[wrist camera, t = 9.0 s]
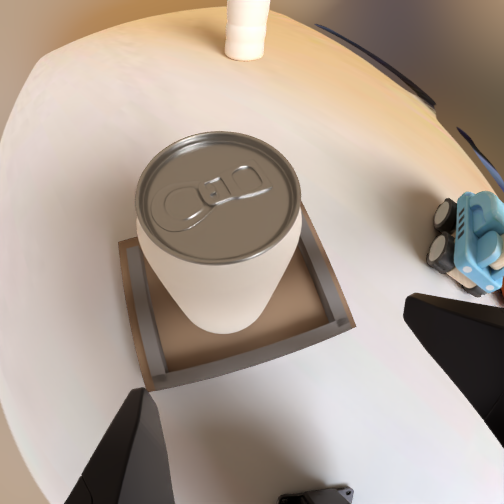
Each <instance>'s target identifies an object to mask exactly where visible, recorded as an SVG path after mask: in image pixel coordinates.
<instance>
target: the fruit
mask: <svg viewBox="0 0 504 504" xmlns="http://www.w3.org/2000/svg"><path fill="white" fill-rule="evenodd" d="M501 290H502V293H503V297H504V276H503V281H502V287H501Z"/></svg>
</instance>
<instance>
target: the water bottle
mask: <svg viewBox="0 0 504 504" xmlns="http://www.w3.org/2000/svg"><path fill="white" fill-rule="evenodd" d="M269 6H270V0H227V21H228V22H227V25H226V42H225V54H226V55H227V56H228V57H229V58H231V59H234V60H238V61H253V60H257V59H259V58H261V57H262V56H263V52H264V38H265V35H266V21H267V17H268V12H269Z"/></svg>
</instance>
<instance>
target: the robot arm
mask: <svg viewBox="0 0 504 504" xmlns="http://www.w3.org/2000/svg"><path fill="white" fill-rule="evenodd" d="M403 318H404V321H405V322H406V324H407V325H408V326H409V328H410V329H411V330H412V332H413V333H414V334H415V336H416V337H417V338H418V340H419V341H420V343H421V344H422V345H423V347H424V348H425V349H426V351H427V352H428V353H429V354H430V355H431V356H432V358H433V359H434V360H435V361H436V362H437V363H438V365H439V366H440V367H441V368H442V369H443V370H444V372H445V373H446V374H447V375H448V376H449V378H450V379H451V380H452V381H453V382H454V384H455V385H456V386H457V387H458V388H459V390H460V391H461V392H462V393H463V395H464V396H465V397H466V398H467V400H468V401H469V402H470V403H471V405H472V406H473V407H474V408H475V410H476V411H477V412H478V414H479V415H480V416H481V418H482V419H483V420H484V422H485V423H486V425H487V426H488V427H489V429H490V430H491V431H492V433H493V434H494V435H495V437H496V438H497V440H498V441H499V442H500V444H501V445H502V447H503V448H504V308H500V307H499V308H498V307H494V306H488V305H482V304H477V303H471V302H465V301H459V300H454V299H448V298H443V297H437V296H432V295H426V294H420V293H413V294H411V295H409V296H408V297H407V298H406V300H405V307H404V313H403ZM347 491H349V492H348V493H347V494H346V492H347ZM353 493H354V490H353V489H352V488H350V487H346V488H340V489H334V488H331V489H324V490H316V491H307V492H305V493H301V494H286V495H281V496H280V497H279V498H278V503H277V504H351V503H352V498H353ZM283 499H287V500H286V501H282V500H283ZM64 504H175V502H174V496H173V490H172V484H171V477H170V470H169V462H168V455H167V449H166V445H165V440H164V436H163V432H162V427H161V422H160V417H159V412H158V408H157V405H156V403H155V402H154V400H153V399H152V397H151V396H150V394H149V393H148V391H147V390H146V389H145V388H143V387H142V388H136V389H132V390H131V391H130V393H129V394H128V396H127V398H126V399H125V401H124V403H123V404H122V406H121V407H120V409H119V411H118V412H117V414H116V416H115V417H114V419H113V421H112V422H111V424H110V426H109V427H108V429H107V431H106V433H105V434H104V436H103V438H102V439H101V441H100V443H99V445H98V446H97V448H96V450H95V451H94V453H93V455H92V457H91V458H90V460H89V462H88V464H87V465H86V467H85V469H84V471H83V473H82V476H80V478H79V479H78V481H77V483H76V485H75V487H74V488H73V490H72V492H71V493H70V495H69V497H68V498H67V500H66V501H65V503H64Z"/></svg>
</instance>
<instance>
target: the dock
mask: <svg viewBox="0 0 504 504" xmlns="http://www.w3.org/2000/svg"><path fill="white" fill-rule="evenodd" d="M300 208H301V215H302V226H301V233H300V237H299V241H298V244H297V247H296V249H295V251H294V254H293V256H292V258H291V260H290V262H289V264H288V266H287V268H286V270H285V272H284V274H283V276H282V278H281V279H280V281H279V283H278V285H277V287H276V289H275V291H274V292H273V294H272V296H271V298H270V300H269V301H268V303H267V305H266V307H265V308H264V310H263V312H262V313H261V315H260V316H259V317H258V318H257V320H256V321H255V322H253V323H252V324H251V325H250V326H248V327H247V328H245V329H243V330H240V331H238V332H234V333H229V334H217V333H212V332H208V331H206V330H203V329H201V328H199V327H198V326H196V325H195V324H194V323H193V322H192V321H191V320H190V319H189V318H188V317H187V316H186V315H185V313H184V312H183V311H182V310H181V308H180V307H179V306H178V304H177V303H176V302H175V300H174V299H173V298H172V296H171V295H170V293H169V292H168V291H167V289H166V288H165V286H164V285H163V284H162V282H161V281H160V279H159V278H158V276H157V275H156V273H155V272H154V270H153V269H152V267H151V266H150V264H149V262H148V261H147V259H146V257H145V255H144V253H143V251H142V248H141V246H140V243H139V239H138V237H134V238H131V239H127V240H124V241H120V242H118V245H119V255H120V263H121V271H122V279H123V286H124V292H125V298H126V304H127V310H128V315H129V321H130V326H131V330H132V335H133V340H134V344H135V349H136V353H137V357H138V361H139V365H140V369H141V372H142V376H143V380H144V383H145V387H146V390H147V391H148V392H151V391H157V390H162V389H167V388H172V387H176V386H181V385H185V384H190V383H194V382H198V381H202V380H206V379H210V378H213V377H217V376H221V375H224V374H228V373H231V372H235V371H238V370H242V369H245V368H248V367H251V366H255V365H258V364H261V363H264V362H267V361H270V360H273V359H276V358H279V357H282V356H284V355H287V354H290V353H293V352H296V351H298V350H301V349H304V348H306V347H309V346H312V345H314V344H317V343H319V342H322V341H324V340H327V339H329V338H332V337H334V336H336V335H339V334H341V333H343V332H346V331H348V330H350V329H352V328H354V327H356V324H355V322H354V319H353V317H352V314H351V312H350V309H349V307H348V304H347V302H346V299H345V297H344V294H343V292H342V289H341V287H340V285H339V282H338V280H337V278H336V275H335V273H334V271H333V268H332V266H331V264H330V261H329V259H328V257H327V255H326V252H325V250H324V248H323V246H322V243H321V241H320V239H319V237H318V235H317V233H316V230H315V228H314V226H313V224H312V222H311V220H310V218H309V216H308V214H307V211H306V209H305V207H304V205H303V203H302V201H301V205H300Z"/></svg>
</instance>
